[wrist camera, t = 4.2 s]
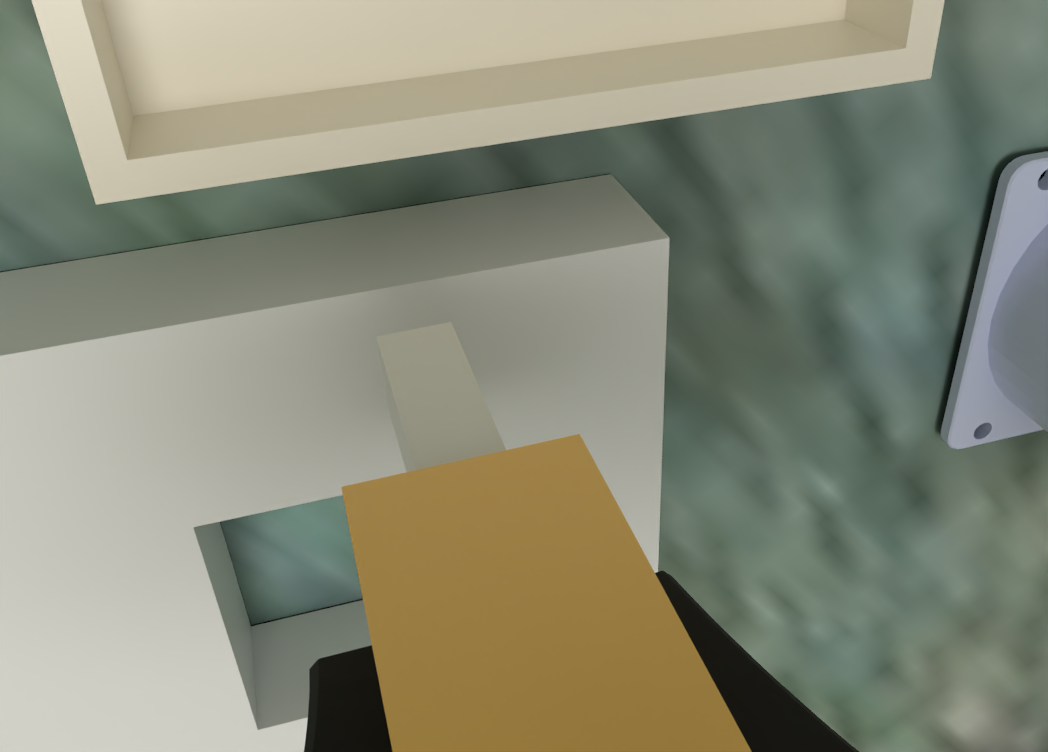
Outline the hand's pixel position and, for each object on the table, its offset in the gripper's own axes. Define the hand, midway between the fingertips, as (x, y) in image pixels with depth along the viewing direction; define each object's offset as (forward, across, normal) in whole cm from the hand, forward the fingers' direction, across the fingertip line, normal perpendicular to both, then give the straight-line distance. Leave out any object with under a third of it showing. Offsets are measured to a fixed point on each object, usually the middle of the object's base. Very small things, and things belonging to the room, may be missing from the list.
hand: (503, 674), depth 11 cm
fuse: (+4, 0, 0) cm, 4 cm away
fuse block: (+10, +2, +6) cm, 12 cm away
